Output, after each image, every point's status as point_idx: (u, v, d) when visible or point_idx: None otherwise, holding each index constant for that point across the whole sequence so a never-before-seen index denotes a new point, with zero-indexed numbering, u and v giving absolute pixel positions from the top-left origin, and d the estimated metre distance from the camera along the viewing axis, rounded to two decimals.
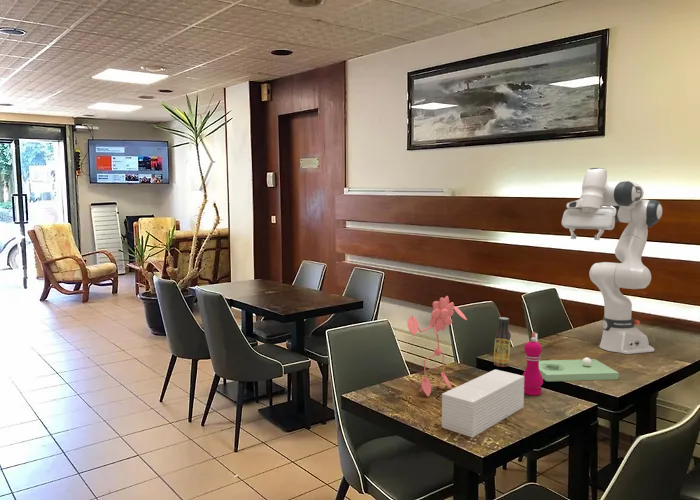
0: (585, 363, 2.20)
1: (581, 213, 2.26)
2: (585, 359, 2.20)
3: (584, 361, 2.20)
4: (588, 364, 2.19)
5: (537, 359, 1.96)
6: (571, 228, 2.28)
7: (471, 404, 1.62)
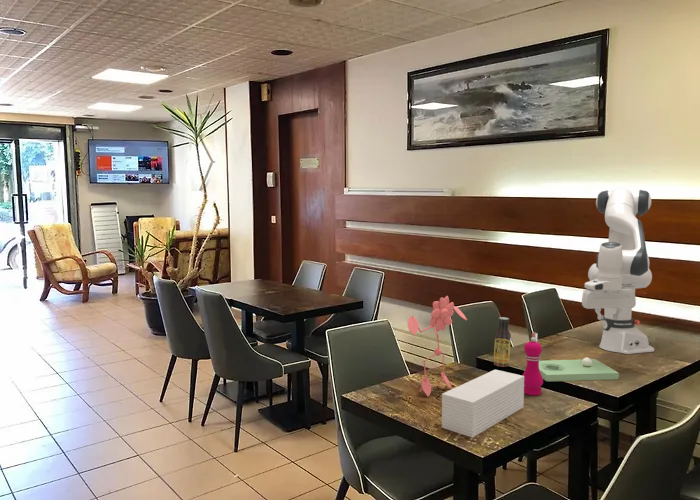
0: (585, 363, 2.20)
1: (605, 294, 2.17)
2: (585, 359, 2.20)
3: (584, 361, 2.20)
4: (588, 364, 2.19)
5: (537, 359, 1.96)
6: (599, 310, 2.18)
7: (471, 404, 1.62)
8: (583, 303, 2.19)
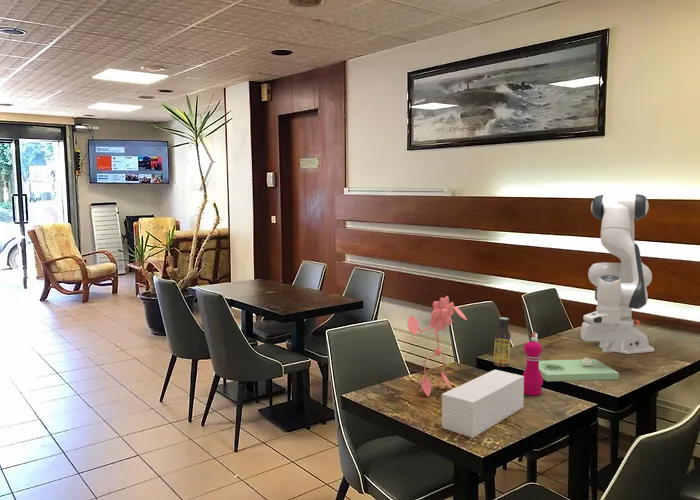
0: (585, 363, 2.20)
1: (604, 327, 2.18)
2: (585, 359, 2.20)
3: (584, 361, 2.20)
4: (588, 364, 2.19)
5: (537, 359, 1.96)
6: (604, 342, 2.19)
7: (471, 404, 1.62)
8: (582, 336, 2.20)
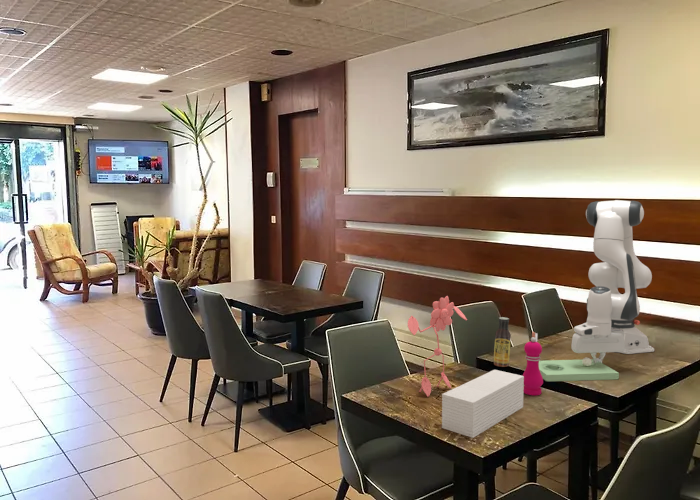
0: (585, 363, 2.20)
1: (594, 339, 2.18)
2: (585, 359, 2.20)
3: (584, 361, 2.20)
4: (588, 364, 2.19)
5: (537, 359, 1.96)
6: (595, 354, 2.19)
7: (471, 404, 1.62)
8: (573, 347, 2.20)
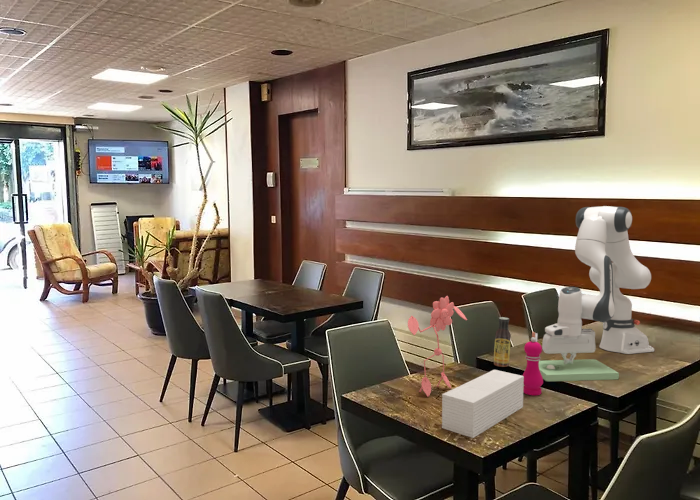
0: None
1: (565, 339, 2.17)
2: None
3: None
4: (552, 368, 2.19)
5: (537, 359, 1.96)
6: (565, 354, 2.19)
7: (471, 404, 1.62)
8: (543, 348, 2.19)
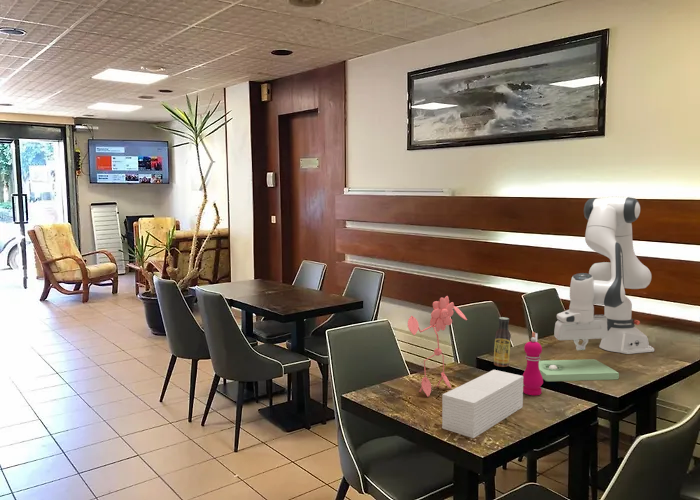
0: None
1: (577, 325, 2.18)
2: None
3: None
4: (556, 368, 2.19)
5: (537, 359, 1.96)
6: (577, 341, 2.19)
7: (472, 404, 1.62)
8: (555, 334, 2.20)
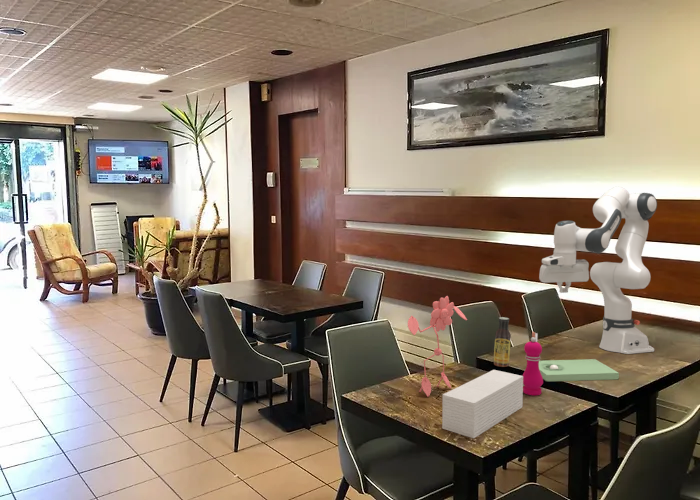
0: None
1: (560, 269, 2.33)
2: None
3: None
4: None
5: (537, 359, 1.96)
6: (561, 283, 2.35)
7: (472, 404, 1.62)
8: (540, 277, 2.35)
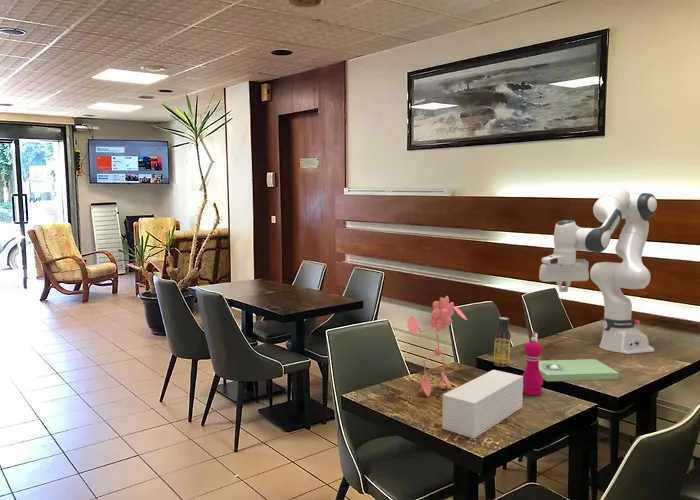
0: None
1: (560, 268, 2.33)
2: None
3: None
4: None
5: (537, 359, 1.96)
6: (561, 282, 2.35)
7: (472, 404, 1.62)
8: (540, 277, 2.35)
